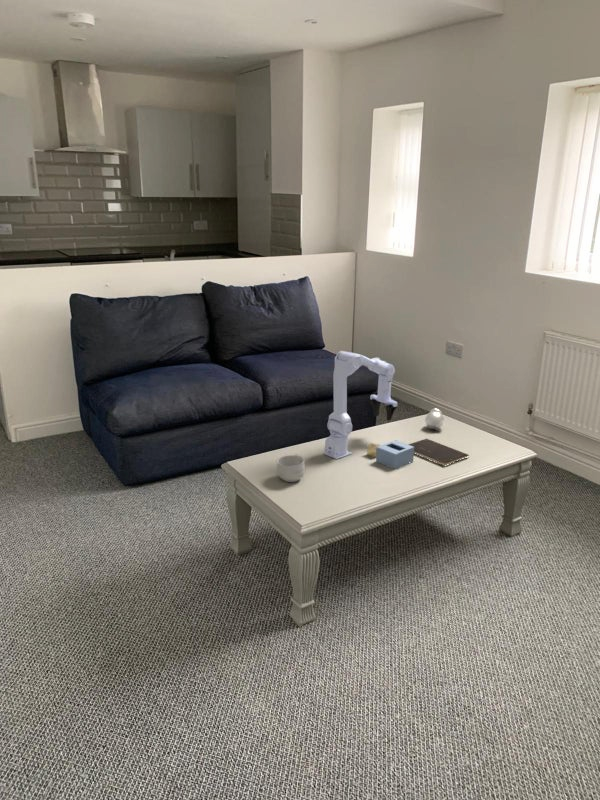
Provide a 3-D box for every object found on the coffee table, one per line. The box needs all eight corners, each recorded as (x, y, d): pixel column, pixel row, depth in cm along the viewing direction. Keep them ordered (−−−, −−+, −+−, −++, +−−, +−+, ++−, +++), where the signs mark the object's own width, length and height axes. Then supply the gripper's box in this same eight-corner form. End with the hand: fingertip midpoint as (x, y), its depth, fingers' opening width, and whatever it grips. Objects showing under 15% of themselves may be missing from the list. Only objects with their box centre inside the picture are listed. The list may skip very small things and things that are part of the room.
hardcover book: (444, 468, 262) (444, 463, 261) (402, 450, 279) (403, 446, 278) (468, 459, 272) (469, 454, 271) (426, 442, 289) (427, 438, 288)
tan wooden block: (375, 458, 270) (376, 448, 268) (367, 454, 273) (367, 444, 272) (379, 456, 271) (380, 446, 270) (371, 453, 275) (371, 443, 274)
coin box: (394, 468, 259) (395, 454, 257) (376, 461, 266) (377, 446, 264) (413, 461, 267) (414, 446, 265) (394, 454, 274) (395, 440, 272)
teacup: (295, 487, 242) (296, 467, 239) (271, 480, 247) (271, 461, 244) (313, 473, 253) (313, 455, 251) (289, 468, 258) (289, 449, 256)
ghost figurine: (447, 428, 305) (449, 408, 302) (437, 433, 298) (439, 413, 295) (431, 424, 311) (432, 404, 308) (420, 429, 304) (422, 409, 301)
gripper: (402, 391, 281) (400, 420, 285) (378, 383, 292) (376, 411, 296) (392, 394, 277) (390, 423, 281) (367, 386, 287) (366, 415, 291)
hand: (382, 417), depth 288 cm, fingers open, 7 cm apart
